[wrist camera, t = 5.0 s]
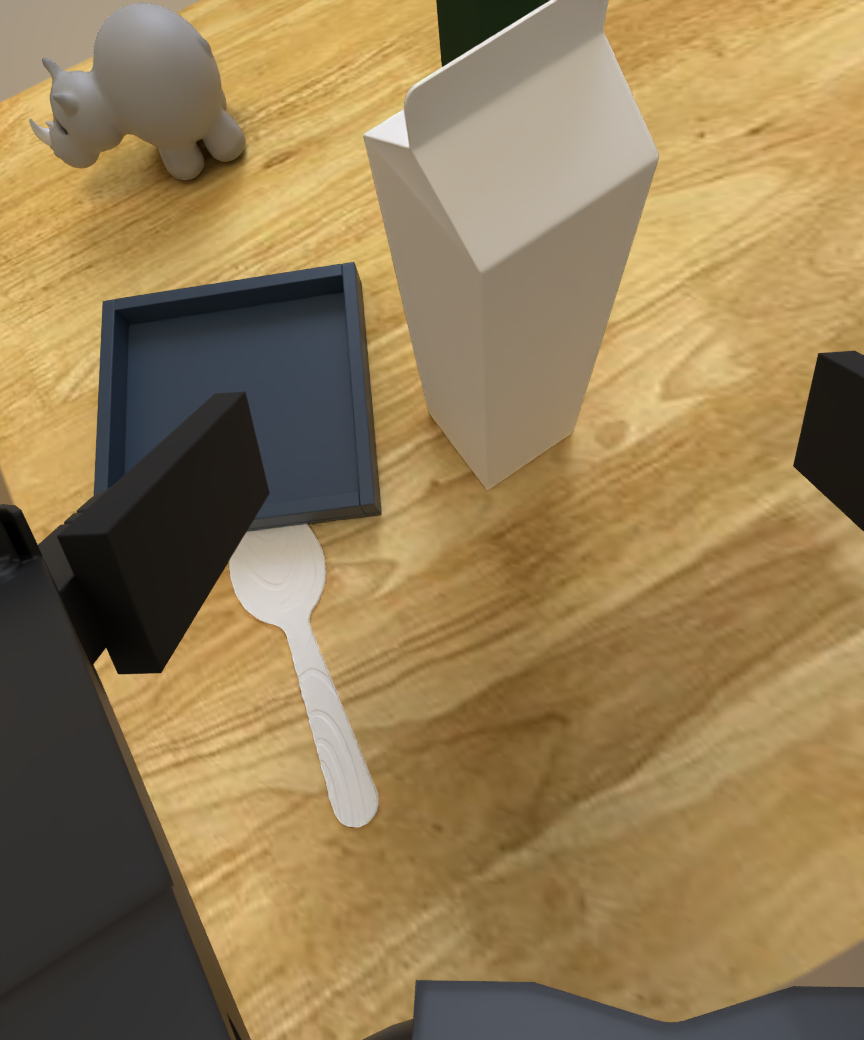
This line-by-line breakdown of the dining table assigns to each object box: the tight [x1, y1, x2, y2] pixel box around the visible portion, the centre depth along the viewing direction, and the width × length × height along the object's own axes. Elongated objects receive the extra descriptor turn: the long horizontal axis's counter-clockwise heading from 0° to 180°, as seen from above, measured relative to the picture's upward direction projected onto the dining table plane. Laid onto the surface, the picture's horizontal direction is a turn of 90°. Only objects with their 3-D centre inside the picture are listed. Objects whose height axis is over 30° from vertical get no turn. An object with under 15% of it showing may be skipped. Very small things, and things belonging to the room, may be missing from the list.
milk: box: [364, 0, 659, 490], centre depth 25 cm, size 6×6×22 cm
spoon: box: [229, 524, 379, 828], centre depth 33 cm, size 5×18×1 cm, turn 22°
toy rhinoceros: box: [29, 3, 245, 180], centre depth 39 cm, size 7×12×8 cm, turn 112°
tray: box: [94, 262, 381, 532], centre depth 36 cm, size 16×15×2 cm
